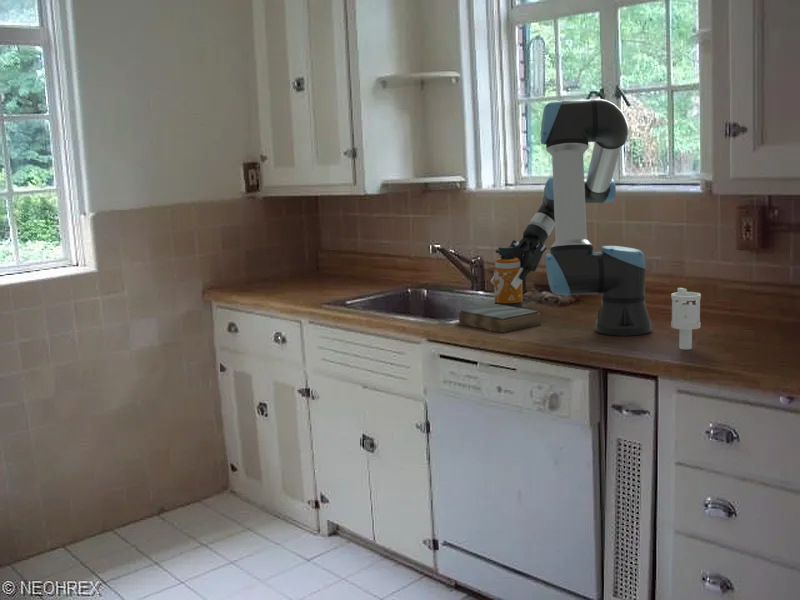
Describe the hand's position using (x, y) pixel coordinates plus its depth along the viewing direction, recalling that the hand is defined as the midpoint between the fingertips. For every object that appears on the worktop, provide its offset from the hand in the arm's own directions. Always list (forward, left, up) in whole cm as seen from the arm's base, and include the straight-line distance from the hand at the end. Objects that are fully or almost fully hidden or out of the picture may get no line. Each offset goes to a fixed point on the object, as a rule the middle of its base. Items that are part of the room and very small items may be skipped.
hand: (503, 285), depth 294 cm
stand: (-16, +17, -8) cm, 24 cm away
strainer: (-73, +6, -8) cm, 74 cm away
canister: (0, -3, -8) cm, 9 cm away
